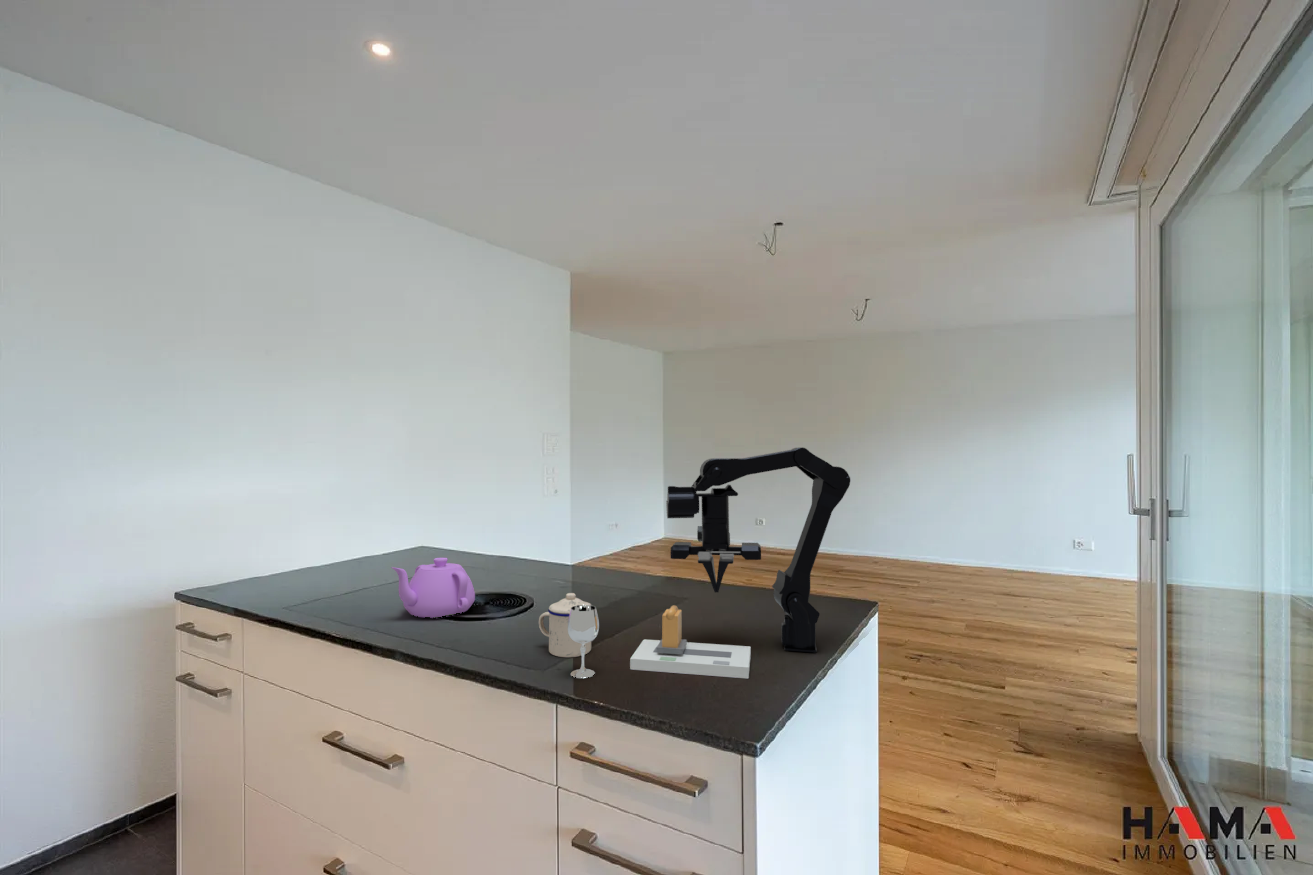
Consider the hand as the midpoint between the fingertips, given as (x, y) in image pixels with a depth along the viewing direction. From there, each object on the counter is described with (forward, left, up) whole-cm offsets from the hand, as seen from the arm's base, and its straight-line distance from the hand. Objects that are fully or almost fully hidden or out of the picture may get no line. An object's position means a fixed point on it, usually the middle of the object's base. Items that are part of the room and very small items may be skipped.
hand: (716, 591), depth 123 cm
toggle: (+8, +10, -9) cm, 16 cm away
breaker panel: (+4, +10, -12) cm, 16 cm away
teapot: (+73, -11, -12) cm, 75 cm away
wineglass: (+23, +20, -12) cm, 33 cm away
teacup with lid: (+31, +8, -12) cm, 34 cm away
